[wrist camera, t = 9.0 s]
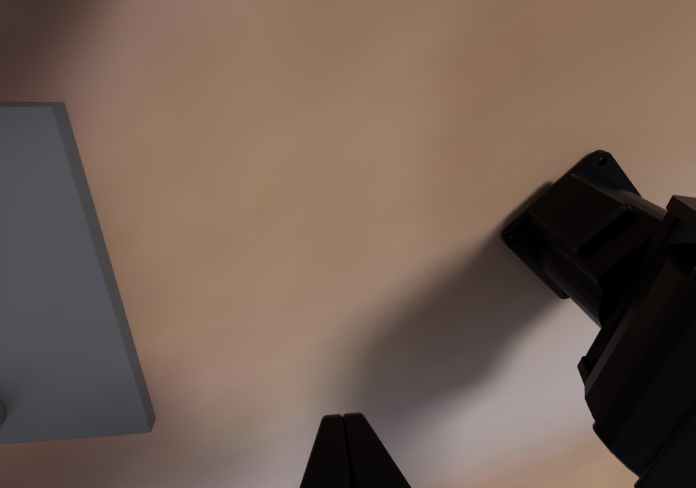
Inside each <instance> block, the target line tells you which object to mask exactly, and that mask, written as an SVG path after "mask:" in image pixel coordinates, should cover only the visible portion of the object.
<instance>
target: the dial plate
mask: <svg viewBox="0 0 696 488" xmlns="http://www.w3.org/2000/svg"><path fill="white" fill-rule="evenodd" d="M0 402H1V403H2V404H3V406H4V408H5V410H6V419H5V421H4V423H3V424H2V426H1V427H0V444H9V443H22V442H34V441H47V440H59V439H72V438H84V437H97V436H109V435H122V434H135V433H147V432H151V430H152V427H153V424H154V422H155V419H156V418H155V414H154V411H153V408H152V404H151V401H150V397H149V394H148V390H147V387H146V383H145V380H144V376H143V373H142V370H141V366H140V363H139V359H138V356H137V352H136V349H135V345H134V342H133V339H132V335H131V332H130V328H129V325H128V321H127V318H126V314H125V311H124V307H123V304H122V301H121V297H120V294H119V290H118V287H117V283H116V280H115V276H114V273H113V269H112V266H111V263H110V259H109V256H108V252H107V249H106V245H105V242H104V238H103V235H102V232H101V228H100V225H99V221H98V218H97V214H96V211H95V207H94V204H93V200H92V197H91V194H90V190H89V187H88V183H87V180H86V176H85V173H84V169H83V166H82V163H81V159H80V156H79V152H78V149H77V145H76V142H75V138H74V135H73V131H72V128H71V125H70V121H69V118H68V114H67V111H66V107H65V104H64V103H53V102H0Z"/></svg>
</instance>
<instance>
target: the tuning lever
mask: <svg viewBox="0 0 696 488" xmlns="http://www.w3.org/2000/svg"><path fill="white" fill-rule="evenodd" d="M5 419H6V410H5V408H4V406H3V404H2V403H1V402H0V427H1V426H2V424H3V423H4V421H5Z"/></svg>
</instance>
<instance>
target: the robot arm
mask: <svg viewBox="0 0 696 488" xmlns="http://www.w3.org/2000/svg"><path fill="white" fill-rule="evenodd" d="M600 158H602V161H601V162H600V163H599V164H597V162H598V160H599V159H600ZM666 209H667V210H668V211H667V210H665V209H663V208H661V207H659V206H657V205H655V204H653V203H651V202H649V201H647V200H645V199H643V198H642V197H641V195H640V194H639V192H638V191H637V190H636V188H635V187H634V186H633V184H632V183H631V181H630V180H629V179H628V177H627V176H626V174H625V173H624V172H623V170H622V169H621V168H620V166H619V165H618V163H617V162H616V161H615V159H614V158H613V156H612V155H611V154H610V153H609V152H606V151H604V150H597V151H595V152H593V153H592V154H591V155H590V156H588V157H587V158H586V159H585V160H584V161H583V162H581V163H580V164H579V165H578V166H577V167H576V168H575V169H573V170H572V171H571V172H570V173H569V174H568V175H566V176H565V177H564V178H563V179H562V180H561V181H559V182H558V183H557V184H556V185H555V186H554V187H553V188H551V189H550V190H549V191H548V192H547V193H546V194H545V195H543V196H542V197H541V198H540V199H539V200H538V201H537V202H535V203H534V204H533V205H532V206H531V207H530V208H529V209H528V210H526V211H525V212H524V213H523V214H522V215H521V216H520V217H518V218H517V219H516V220H515V221H514V222H513V223H512V224H510V225H509V226H508V227H507V228H506V229H505V230H504V231H503V232H502V235H501V239H502V240H503V242H504V243H505V244H506V245H507V246H508V247H509V248H510V249H511V250H512V251H513V252H514V253H515V254H516V255H517V256H518V257H519V258H520V259H521V260H522V261H523V262H524V263H525V264H526V265H527V266H528V267H529V268H530V269H531V270H532V271H533V272H534V273H535V274H536V275H537V276H538V277H540V278H541V279H542V280H543V281H544V282H545V283H546V284H547V285H548V286H549V287H550V288H551V289H552V290H553V291H554V292H555V293H556V294H557V295H558V296H559V297H560V298H561V299H567V298H571V299H572V300H573V301H574V302H575V303H576V304H577V305H578V306H579V307H580V308H581V309H582V310H583V311H584V312H585V313H586V314H587V315H588V316H589V317H590V318H591V319H592V320H593V321H594V322H595V323H596V324H597V325H598V326H599V327H600V328H601V330H600V331H599V333H598V335H597V337H596V338H595V340H594V342H593V344H592V345H591V347H590V349H589V351H588V353H587V354H586V356H583V357H582V358H581V360H580V362H579V364H578V365H577V367H578V370H579V373H580V375H581V378H582V381H583V383H584V386H585V400H586V403H587V405H588V407H589V409H590V412H591V414H592V416H593V418H594V420H595V422H594V424H593V430H594V432H595V433H596V435H597V436H598V437H599V438H600V440H601V441H602V442H603V443H604V445H605V446H606V447H607V448H608V450H609V451H610V452H611V453H612V454H613V455H614V456H615V457H616V458H617V459H618V460H619V461H620V462H621V463H623V464H624V465H625V466H626V467H627V468H628V469H629V470H630V471H632V472H633V473H634V474H636V475H637V476H638V477H639V479H638V480H637V482H636V483H635V484H634V488H696V198H693V197H686V196H678V195H673V196H672V197H671V199H670V201H669V203H668V205H667V206H666ZM512 234H515V235H514V237H513V238H511V239H509V237H510V236H511V235H512ZM300 488H411V486H410V485H409V483H408V482H407V480H406V479H405V477H404V476H403V474H402V473H401V471H400V470H399V468H398V467H397V465H396V464H395V462H394V461H393V459H392V457H391V456H390V454H389V453H388V451H387V450H386V448H385V447H384V445H383V444H382V442H381V441H380V439H379V438H378V436H377V435H376V433H375V432H374V430H373V429H372V427H371V425H370V424H369V422H368V421H367V419H366V418H365V416H364V415H363V414H362V413H346V414H344V415H343V417H342V415H340V414H334V415H325V416H323V418H322V420H321V423H320V426H319V429H318V432H317V435H316V439H315V442H314V445H313V448H312V451H311V454H310V457H309V460H308V463H307V467H306V470H305V473H304V476H303V479H302V482H301V485H300Z"/></svg>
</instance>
